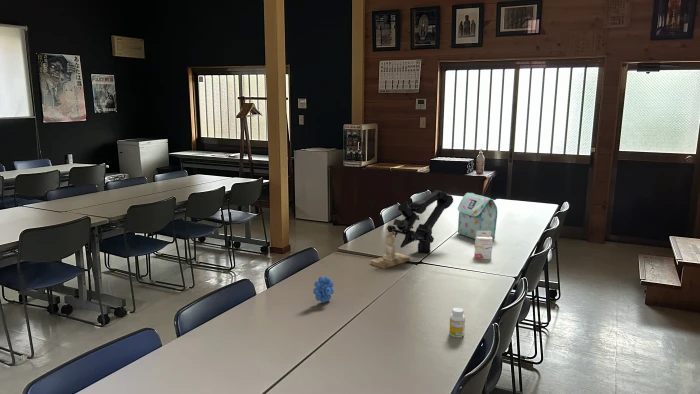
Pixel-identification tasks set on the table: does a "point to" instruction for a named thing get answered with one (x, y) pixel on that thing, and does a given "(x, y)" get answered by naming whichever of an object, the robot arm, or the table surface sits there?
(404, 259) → the oak board
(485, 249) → the ink cartridge box
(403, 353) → the table surface
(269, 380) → the table surface
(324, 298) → the blue knobbly wheel
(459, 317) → the supplement bottle
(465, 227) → the lunch bag
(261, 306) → the table surface
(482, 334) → the table surface
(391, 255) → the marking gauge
